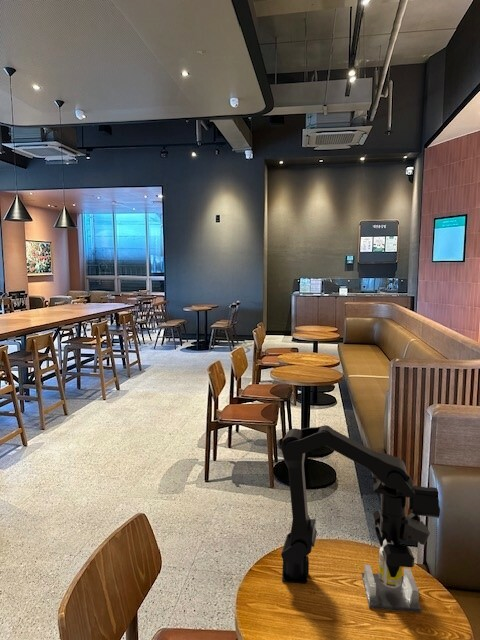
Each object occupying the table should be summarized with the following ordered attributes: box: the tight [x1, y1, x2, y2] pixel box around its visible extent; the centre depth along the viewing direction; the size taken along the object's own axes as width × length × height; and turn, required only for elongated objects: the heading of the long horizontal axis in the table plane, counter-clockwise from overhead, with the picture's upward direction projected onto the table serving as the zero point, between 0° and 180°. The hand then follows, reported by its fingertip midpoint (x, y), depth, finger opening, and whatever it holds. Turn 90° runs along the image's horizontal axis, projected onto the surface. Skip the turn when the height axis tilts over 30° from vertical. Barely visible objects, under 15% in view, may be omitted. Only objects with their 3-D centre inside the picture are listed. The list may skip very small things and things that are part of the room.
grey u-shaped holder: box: [361, 564, 422, 614], centre depth 108 cm, size 11×12×4 cm
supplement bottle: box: [378, 539, 403, 588], centre depth 107 cm, size 6×6×10 cm
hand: (390, 568), depth 107 cm, fingers closed on supplement bottle, 5 cm apart
